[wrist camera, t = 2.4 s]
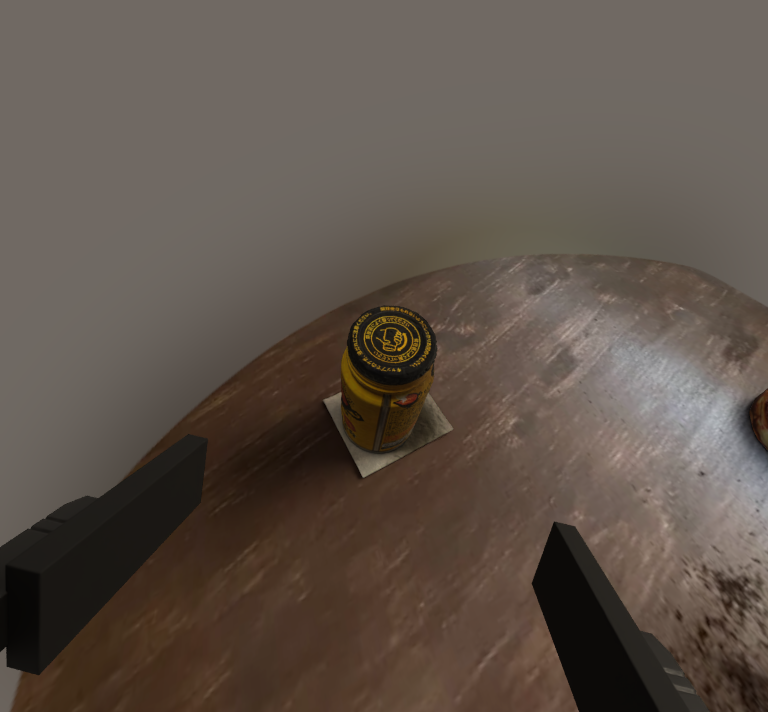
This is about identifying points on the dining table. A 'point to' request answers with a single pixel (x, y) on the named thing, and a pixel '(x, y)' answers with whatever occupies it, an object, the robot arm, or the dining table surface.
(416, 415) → the condiment
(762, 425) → the pastry
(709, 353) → the dining table surface
